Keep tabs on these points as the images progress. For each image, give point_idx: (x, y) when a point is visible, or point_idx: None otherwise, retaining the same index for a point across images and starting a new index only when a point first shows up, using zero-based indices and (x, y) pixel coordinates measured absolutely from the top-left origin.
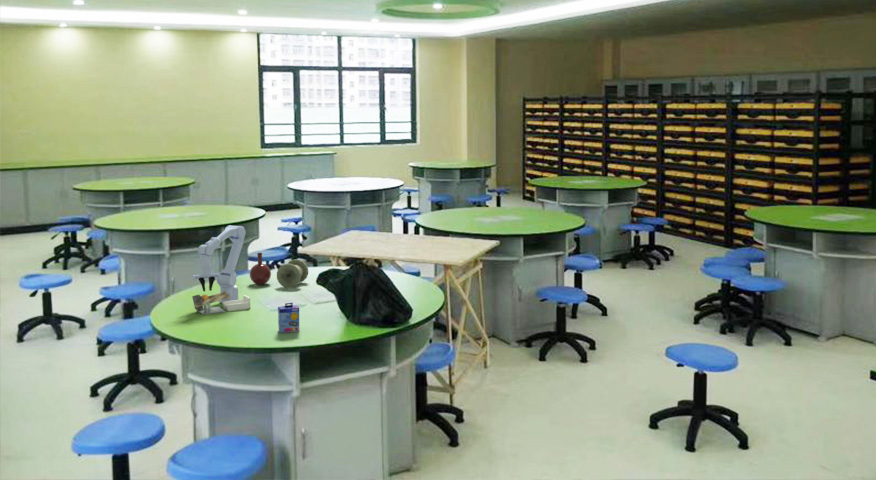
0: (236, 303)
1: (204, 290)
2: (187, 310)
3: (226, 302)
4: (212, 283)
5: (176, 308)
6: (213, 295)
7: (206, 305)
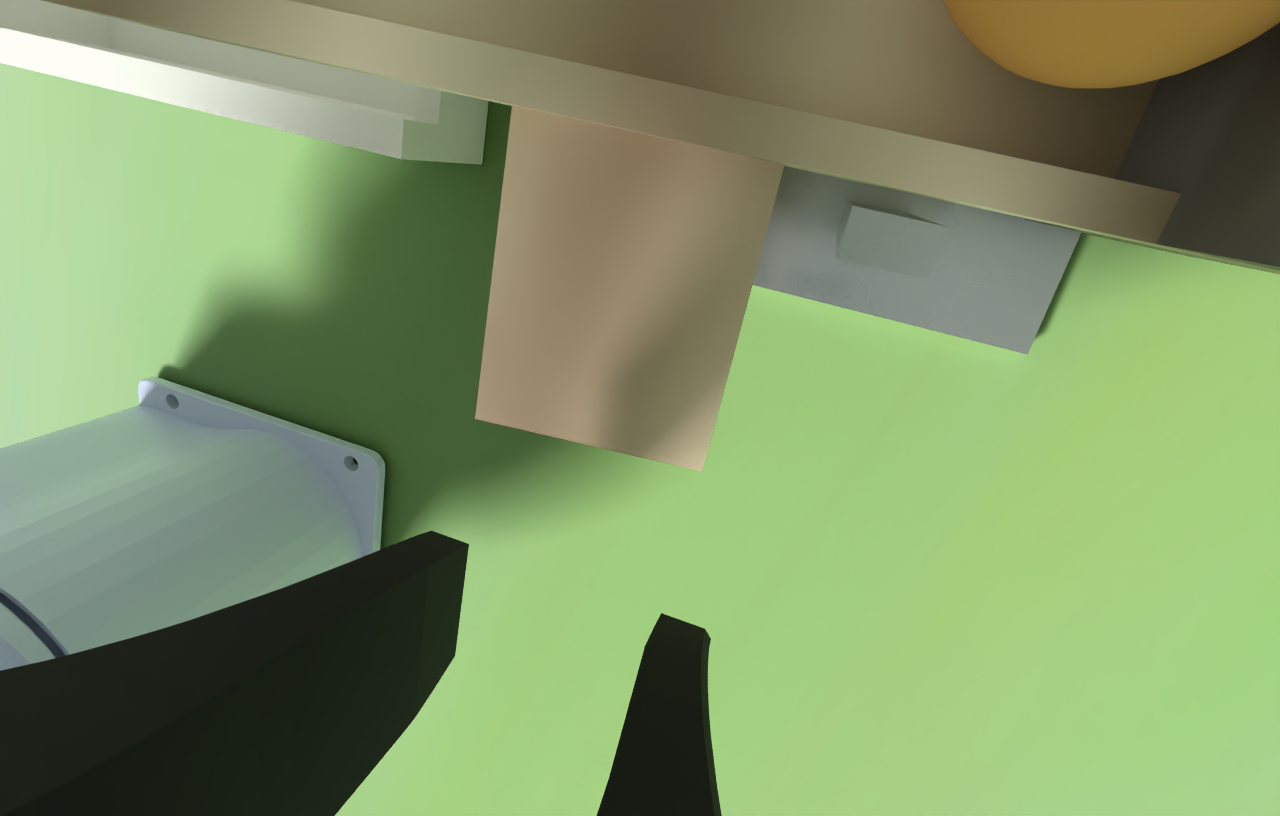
0: (196, 69)
1: (683, 638)
2: (1176, 501)
3: (349, 105)
4: (86, 667)
5: (1204, 801)
6: (577, 63)
7: (849, 201)
